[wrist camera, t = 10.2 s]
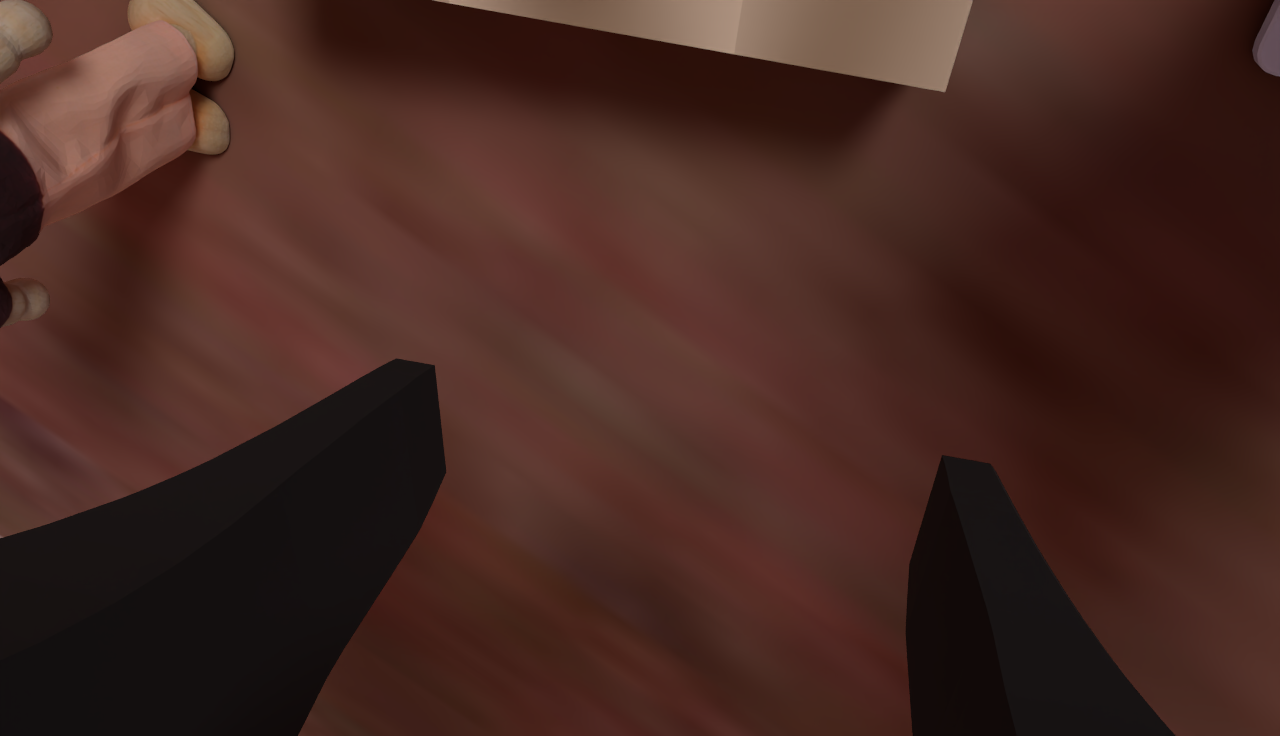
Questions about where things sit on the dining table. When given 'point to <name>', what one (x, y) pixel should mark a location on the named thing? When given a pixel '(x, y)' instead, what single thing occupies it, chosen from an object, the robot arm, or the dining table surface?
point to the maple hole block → (783, 30)
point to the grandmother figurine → (98, 120)
